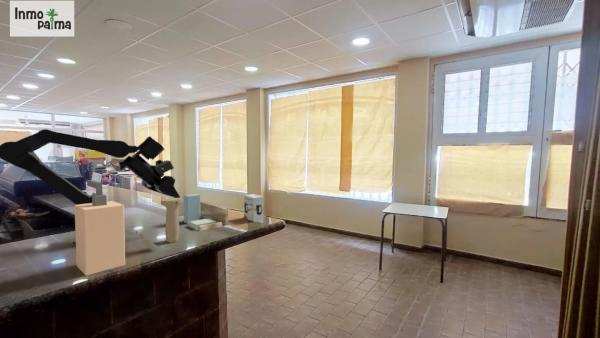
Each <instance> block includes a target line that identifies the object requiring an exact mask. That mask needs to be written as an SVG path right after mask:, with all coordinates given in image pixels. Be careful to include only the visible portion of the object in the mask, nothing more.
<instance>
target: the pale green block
mask: <svg viewBox="0 0 600 338" xmlns="http://www.w3.org/2000/svg"><path fill="white" fill-rule="evenodd" d="M212 223H217V222H216V221H215V220H212V219H210V218H208V219H206V218H203V219H200V220H196V221H190V226H189V227H190V228H192V229H194V231H195V230H196V231H200V230H199V226H202V225H207V224H212Z"/></svg>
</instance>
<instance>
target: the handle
mask: <svg viewBox="0 0 600 338" xmlns="http://www.w3.org/2000/svg"><path fill="white" fill-rule="evenodd" d="M182 203H183V204H184V198H181V197H180V198H174V197H168V198H163V199H160V204H161V205H162V206H164V207H165V209H166V212H165V213H166V215H165V239H166V242H167V243H176V242H178V240H179V235H180V223H179V222H180V221H179V220H178V217H179V206H180V205H181V204H182Z"/></svg>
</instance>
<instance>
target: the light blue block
mask: <svg viewBox="0 0 600 338" xmlns="http://www.w3.org/2000/svg"><path fill="white" fill-rule="evenodd" d="M182 199H183V216H184V220H183V223H184V224H186V225H187V224H188V225H189V222H190V221H196V220H201V217H200V202H201V195H200V194H197V193H191V194H185V195H184V194H183V198H182Z"/></svg>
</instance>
